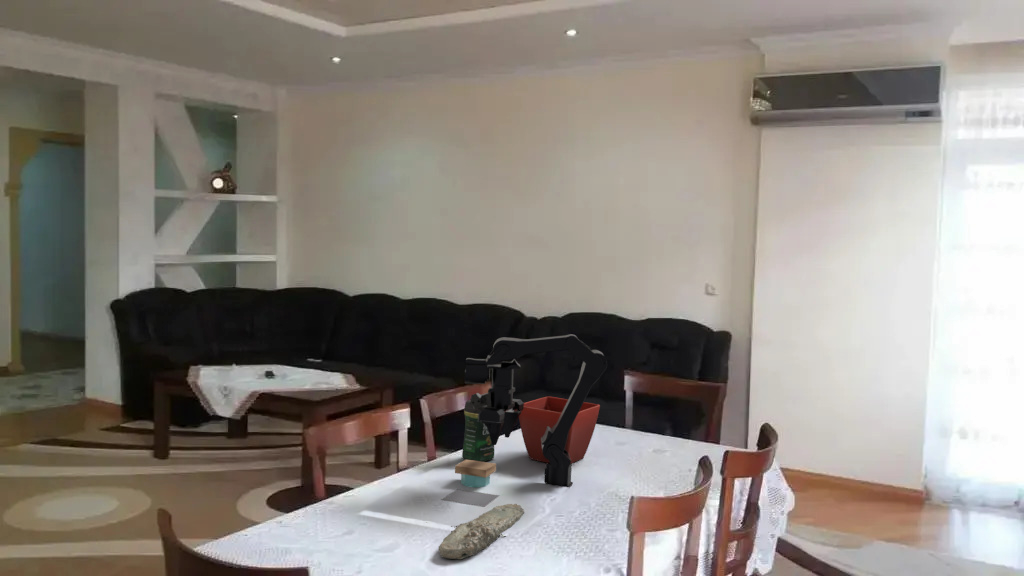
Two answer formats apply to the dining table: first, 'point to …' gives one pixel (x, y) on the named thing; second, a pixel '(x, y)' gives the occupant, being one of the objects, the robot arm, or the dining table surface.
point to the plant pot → (547, 414)
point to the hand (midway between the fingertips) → (500, 440)
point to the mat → (470, 497)
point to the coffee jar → (476, 436)
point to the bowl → (474, 480)
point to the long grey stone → (479, 532)
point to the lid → (475, 468)
